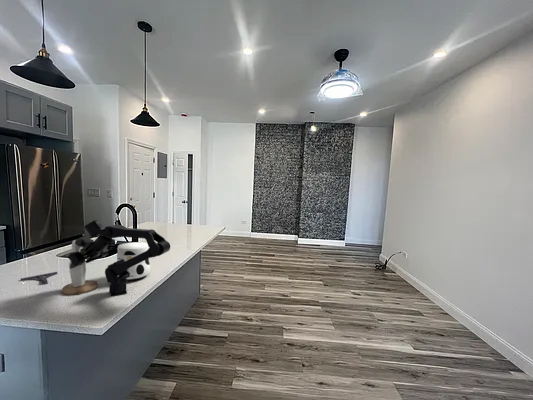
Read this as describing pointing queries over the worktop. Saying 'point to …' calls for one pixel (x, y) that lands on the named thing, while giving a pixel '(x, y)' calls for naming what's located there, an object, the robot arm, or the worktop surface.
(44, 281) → the bracket
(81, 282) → the low poly bottle
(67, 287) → the walnut board
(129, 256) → the milk container
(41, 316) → the worktop surface
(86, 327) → the worktop surface
